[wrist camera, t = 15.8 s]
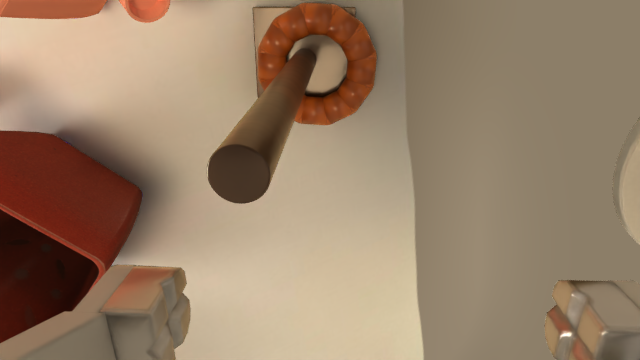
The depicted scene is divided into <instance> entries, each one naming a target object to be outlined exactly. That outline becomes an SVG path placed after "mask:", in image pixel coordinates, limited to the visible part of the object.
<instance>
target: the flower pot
mask: <svg viewBox="0 0 640 360" xmlns="http://www.w3.org/2000/svg"><path fill="white" fill-rule="evenodd" d="M141 201H142V191H141V190H140V189H139V187H137V186H136V185H134V184H133V183H131V182H129V181H128V180H126V179H124V178H123V177H121V176H120V175H118V174H116V173H115V172H113V171H112V170H110V169H108V168H107V167H105V166H104V165H102V164H100V163H99V162H97V161H95V160H94V159H92V158H91V157H89V156H87V155H86V154H84V153H83V152H81V151H79V150H78V149H76V148H74V147H73V146H71V145H70V144H68V143H66V142H65V141H63V140H62V139H60V138H58V137H57V136H55V135H53V134H47V133H39V132H24V131H0V343H2V342H4V341H6V340H8V339H10V338H12V337H14V336H16V335H18V334H20V333H22V332H24V331H26V330H28V329H30V328H32V327H34V326H36V325H38V324H40V323H42V322H44V321H46V320H48V319H50V318H52V317H54V316H56V315H58V314H60V313H62V312H64V311H67V312H72V311H73V310H74V309H75V307H76V306H77V305H78V304H79V303H80V302H81V300H82V299H83V298H84V297H85V296H86V295H87V294H88V292H89V291H90V290H91V289H92V288H93V287H94V286H95V284H96V283H97V282H98V281H99V280H100V279H101V277H102V276H103V275H104V274H105V273H106V272H107V271H108V269H109V268H110V266H111V265H112V263H113V262H114V260H115V258H116V257H117V255H118V254H119V252H120V250H121V248H122V247H123V245H124V243H125V241H126V240H127V238H128V236H129V234H130V232H131V230H132V228H133V225H134V223H135V221H136V218H137V215H138V212H139V209H140V205H141Z"/></svg>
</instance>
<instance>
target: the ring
mask: <svg viewBox="0 0 640 360" xmlns="http://www.w3.org/2000/svg"><path fill="white" fill-rule="evenodd" d="M308 35H326V36H328V37H329V38H331V39H332V40H334V41H335V42H337V43H338V44H340V45H341V47H342V49H343V52H344V54H345V56H346V58H347V60H348V62H347V76H346V78H345V80H344V81H343V83H342V84H341V86H340V87H339V89H338V90H337V91H335V92H333V93H331V94H329V95H327V96H325V97H309V96H306V95H304V96H303V99H302V102H301V104H300V107H299V109H298V112H297V115H296V117H295V120H294V121H296V122H298V123H301V124H314V125H330V124H333V123H335V122H337V121H339V120H341V119H343V118H345V117H347V116H349V115H351V114H353V113H355V112H356V111H357V110H358V109H359V107H360V106H361V104H362V103H363V102H364V100H365V99H366V97H367V96H368V94H369V93H370V92H371V90H372V89H373V86H374V81H375V71H376V61H377V53H376V50H375V48H374V46H373V44H372V41H371V39H370V37H369V35H368V32H367V30H366V28H365V26H364V24H363V23H362V22H361V21H359V20H358V19H356V18H355V17H353V16H352V15H351V14H349V13H348V12H346V11H345V10H344V9H342V8H341V7H339V6H338V5H335V4H322V3H301V4H299V5H297V6H296V7H294V8H292V9H290V10H288V11H287V12H285V13H283V14H281V15H279V16H278V17H276V18H275V19H274V20H273V21H272V23H271V25H270V26H269V28H268V30H267V32H266V34H265V35H264V37H263V39H262V41H261V42H260V44H259V47H258V80H259V83H260V84H261V86H262V88H263V90H264V91H265V89H266V88H267V87H268V86H269V84H270V83H271V82H272V81H273V79H274V78H275V77H276V76H277V75H278V73H279V72H280V71H281V70H282V68H283V67H284V66H285V65H286V58H287V55H288V53H289V52H290V50H291V48H292V47H293V45H294V43H295V42H297V41H299V40H300V39H302V38H304V37H306V36H308Z"/></svg>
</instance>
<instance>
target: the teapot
mask: <svg viewBox="0 0 640 360" xmlns="http://www.w3.org/2000/svg"><path fill="white" fill-rule="evenodd" d="M106 1H107V0H0V17H12V18H39V19H67V18H83V17H88V16H92V15H95V14H98V13H99V12H100V10H101V9H102V8H103V6H104V5H105V3H106ZM119 2H120V3H121V4H122V6H123V7H124V8H125V9H126V11H127V12H128V14H129V15H130V16H131V17H132V18H133V19H135V20H137V21H140V22H145V23H146V22H154V21H156V20H158V19H160V18H161V17H163V16H164V15H165V13H166V12H167V10H168V9H169V5H170V0H119Z"/></svg>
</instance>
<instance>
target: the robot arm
mask: <svg viewBox="0 0 640 360" xmlns="http://www.w3.org/2000/svg"><path fill="white" fill-rule="evenodd" d="M186 284H187V282H186V276H185V271H184V270H183V269H182V268H178V267H159V266H140V265H138V266H136V265H114V266H111V267H110V268H109V269H108V271H107V272H106V273H105V274H104V275H103V276H102V277H101V279H100V280H99V281H98V282H97V283H96V284H95V286H94V287H93V288H92V289H91V290H90V291H89V292H88V294H87V295H86V296H85V297H84V298H83V299H82V300H81V302H80V303H79V304H78V305H77V306H76V307H75V309H74V310H73V311H72V312H67V311H64V312H62V313H60V314H58V315H56V316H54V317H52V318H50V319H48V320H46V321H44V322H42V323H40V324H38V325H36V326H34V327H32V328H30V329H28V330H26V331H24V332H22V333H20V334H18V335H16V336H14V337H12V338H10V339H8V340H6V341H4V342H2V343H0V360H175V359H176V358H175V352H174V349H175V348H176V347H178V346H179V345H181V344H182V343H183V342H184V339H185V337H186V335H187V333H188V328H189V323H190V302H189V299H188V298H187V297H186V296H185V295H184V294H183V293H182V292H183V290H184V288H185V286H186ZM552 297H553V299H554V300H555V302H556V304H557V305H556V306H554V307H553V308H552V309H551V310H550V311H549V312H547V315H546V320H545V325H544V327H545V338H546V341H547V345H548V347H549V350H550V351H551V353H552V355H553V357H554V358H555V359H557V360H640V284H639V283H637V282H635V281H574V280H559V281H558V282H557V283H556V285H555V286H554V289H553V293H552Z"/></svg>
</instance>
